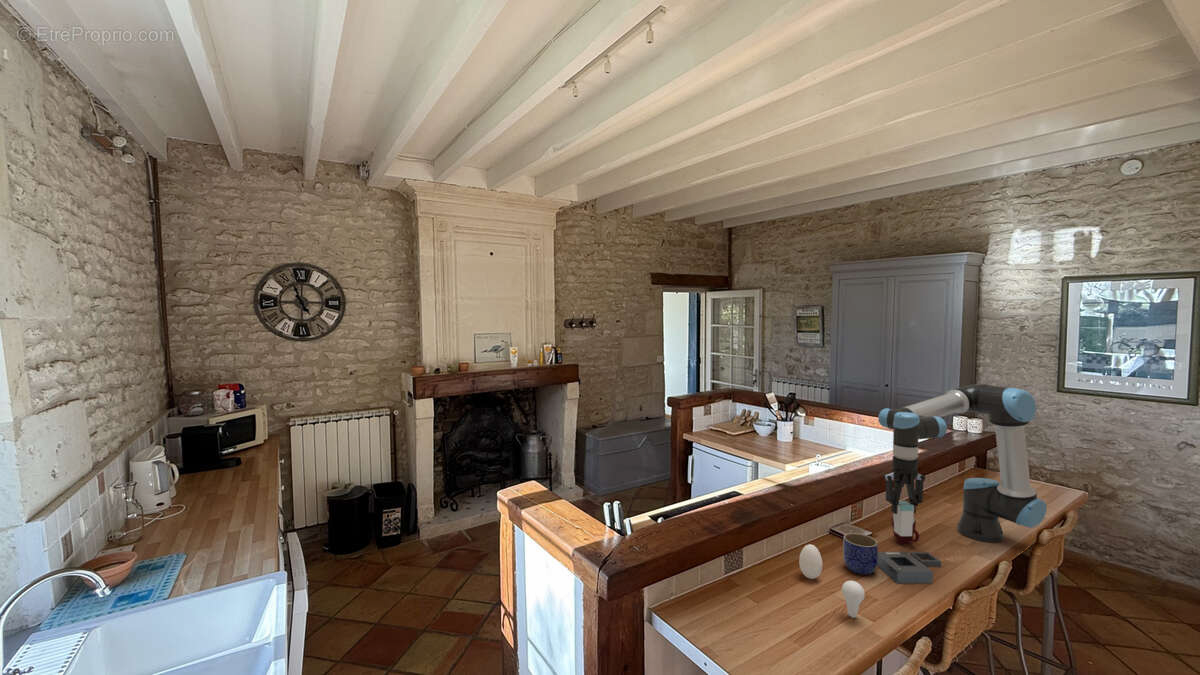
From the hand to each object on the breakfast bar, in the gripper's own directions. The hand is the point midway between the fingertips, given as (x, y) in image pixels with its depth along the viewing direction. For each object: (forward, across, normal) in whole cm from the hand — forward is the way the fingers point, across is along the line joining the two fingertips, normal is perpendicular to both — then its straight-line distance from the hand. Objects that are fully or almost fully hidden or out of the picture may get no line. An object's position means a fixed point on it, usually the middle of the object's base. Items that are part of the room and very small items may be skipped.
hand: (903, 522), depth 171 cm
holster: (+18, -13, -7) cm, 24 cm away
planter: (+19, +14, -2) cm, 23 cm away
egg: (+19, +34, +3) cm, 39 cm away
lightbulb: (+19, +31, +25) cm, 44 cm away
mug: (+18, -15, -21) cm, 32 cm away
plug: (+4, 0, 0) cm, 4 cm away
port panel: (+18, 0, 0) cm, 18 cm away
